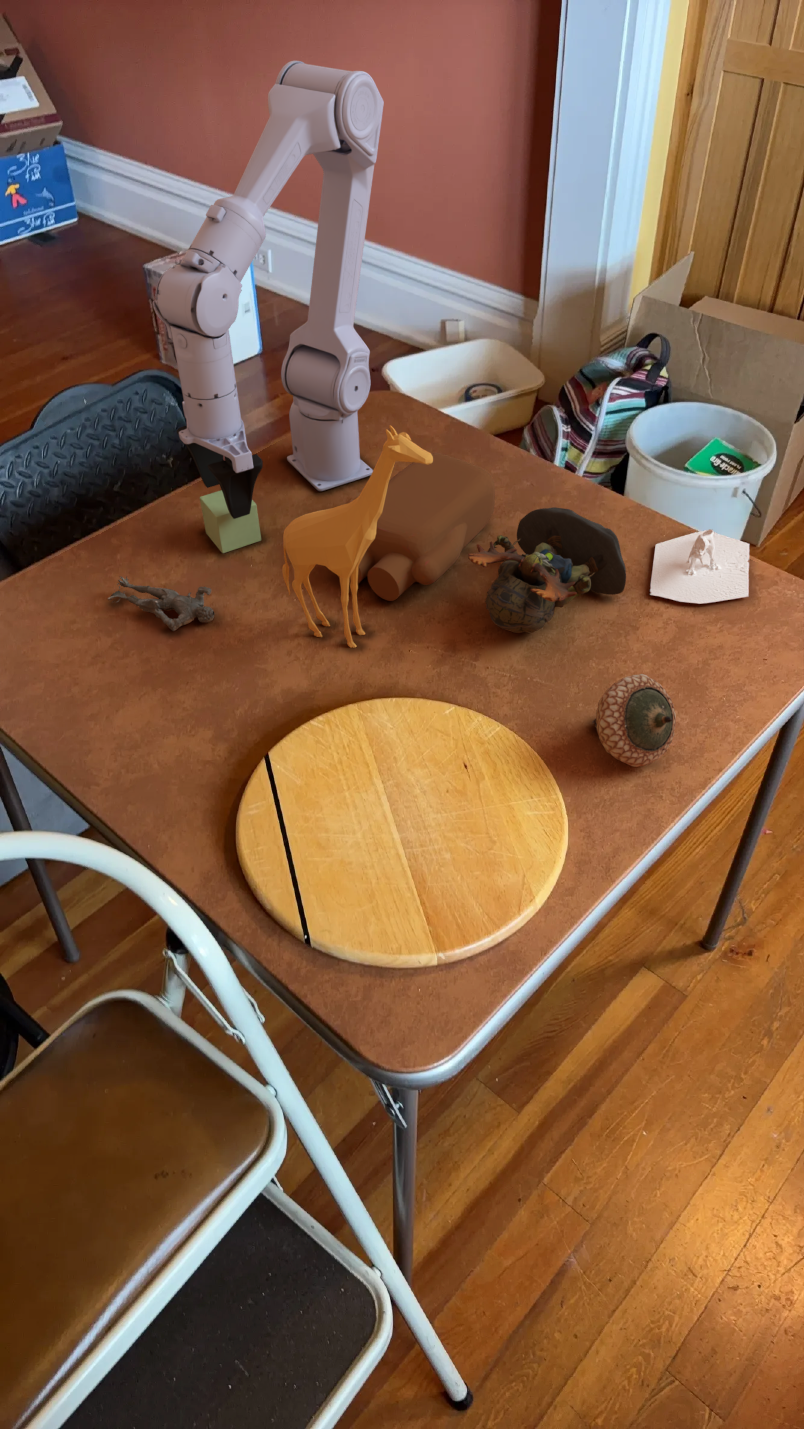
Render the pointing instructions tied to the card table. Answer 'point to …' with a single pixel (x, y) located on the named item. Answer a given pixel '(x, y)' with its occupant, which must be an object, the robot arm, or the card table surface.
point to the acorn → (635, 720)
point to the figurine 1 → (169, 604)
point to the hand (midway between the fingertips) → (227, 499)
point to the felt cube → (228, 523)
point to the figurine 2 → (550, 567)
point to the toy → (426, 523)
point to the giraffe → (344, 533)
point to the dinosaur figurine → (701, 568)
